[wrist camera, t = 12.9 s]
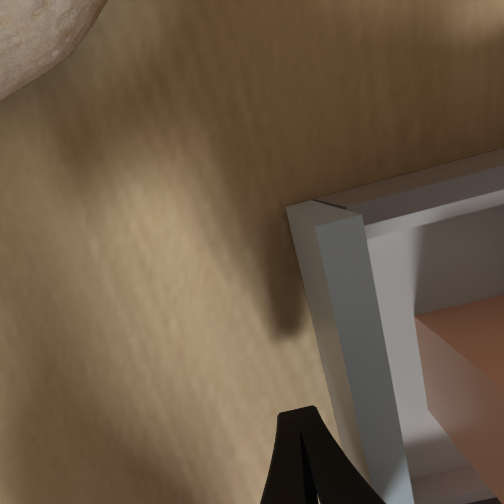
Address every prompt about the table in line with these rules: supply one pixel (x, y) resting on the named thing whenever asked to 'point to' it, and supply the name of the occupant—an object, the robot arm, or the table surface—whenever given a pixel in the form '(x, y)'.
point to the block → (468, 381)
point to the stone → (40, 37)
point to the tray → (395, 332)
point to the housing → (424, 194)
